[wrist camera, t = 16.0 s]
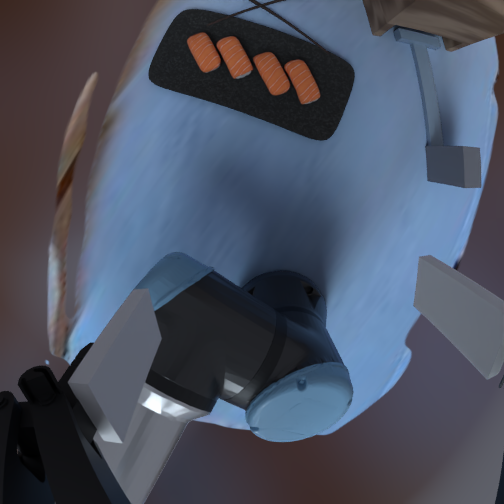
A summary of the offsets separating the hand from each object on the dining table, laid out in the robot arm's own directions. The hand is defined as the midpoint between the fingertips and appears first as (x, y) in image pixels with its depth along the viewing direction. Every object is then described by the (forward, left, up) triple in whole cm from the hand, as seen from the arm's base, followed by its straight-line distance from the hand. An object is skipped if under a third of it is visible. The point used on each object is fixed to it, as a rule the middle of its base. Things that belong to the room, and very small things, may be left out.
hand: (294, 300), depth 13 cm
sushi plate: (+27, -6, -31) cm, 42 cm away
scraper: (+15, -32, -31) cm, 46 cm away
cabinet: (+33, -32, -31) cm, 55 cm away
